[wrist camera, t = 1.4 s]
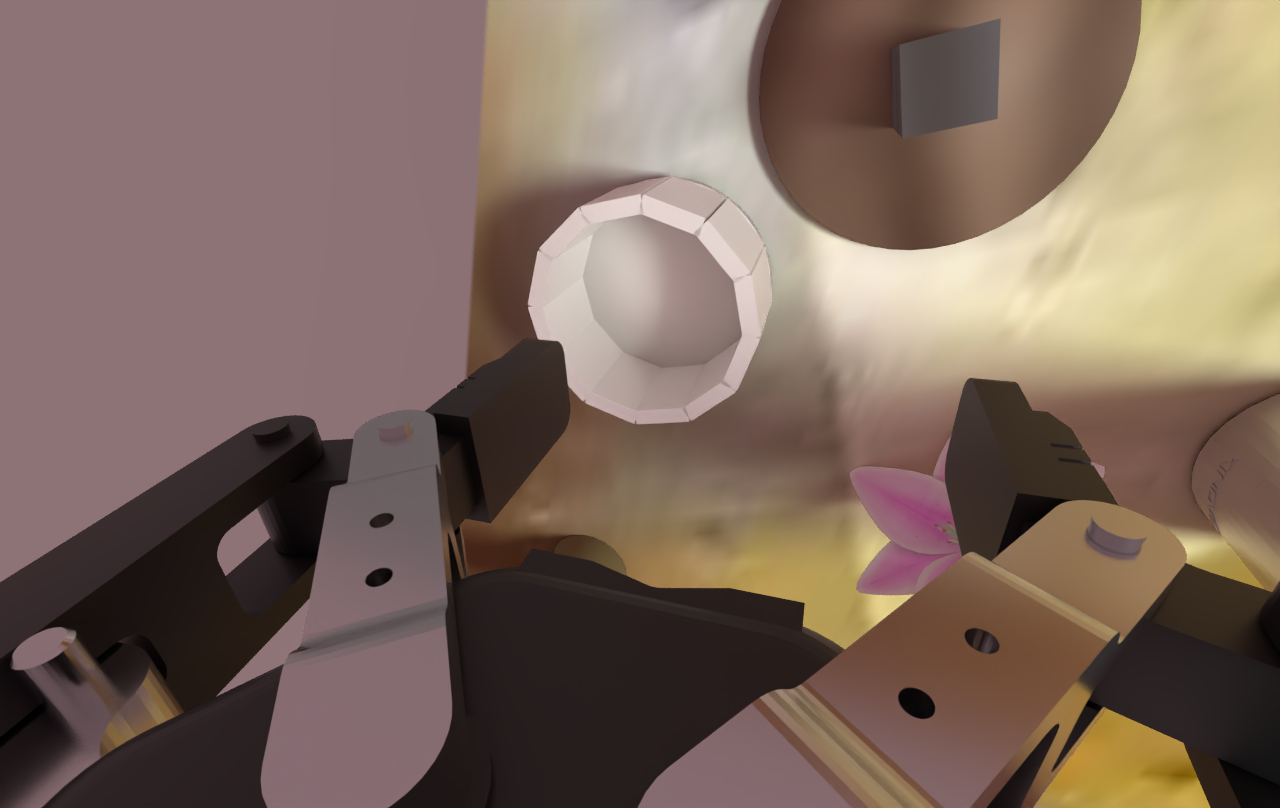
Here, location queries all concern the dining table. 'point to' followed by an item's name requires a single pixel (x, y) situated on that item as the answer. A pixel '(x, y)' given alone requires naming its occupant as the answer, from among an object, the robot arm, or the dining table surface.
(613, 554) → the cork
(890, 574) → the lily
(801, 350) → the dining table surface
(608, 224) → the ceramic bowl
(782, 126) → the walnut lid
